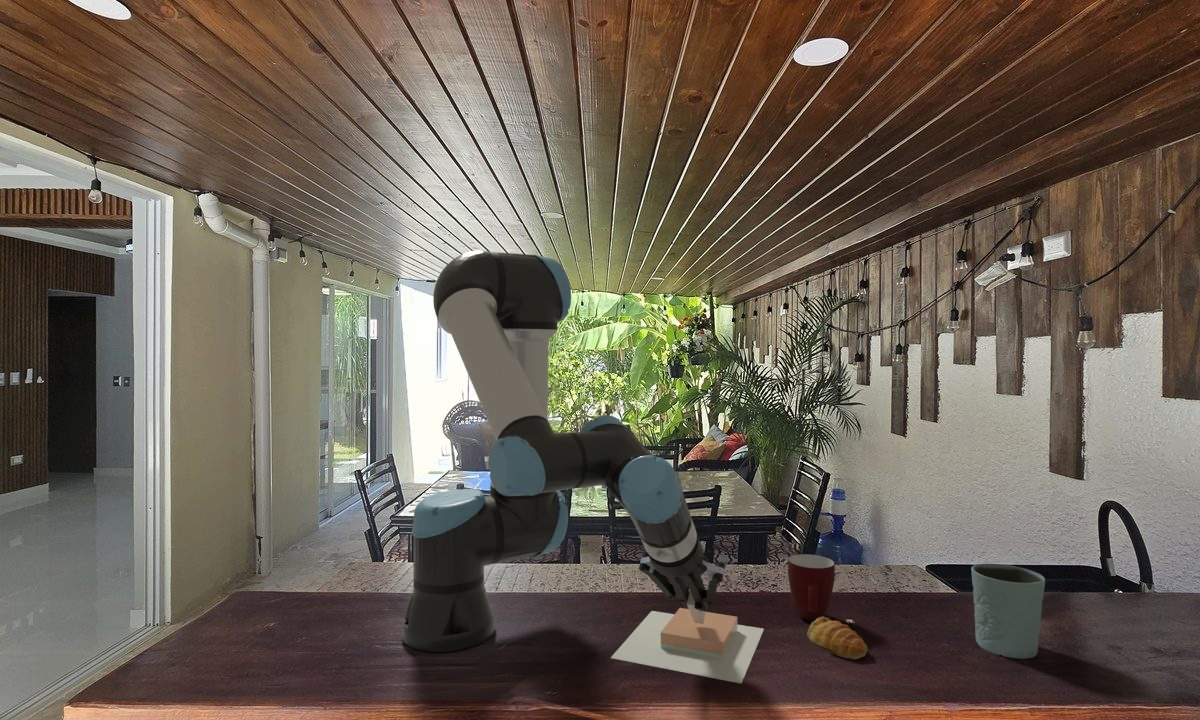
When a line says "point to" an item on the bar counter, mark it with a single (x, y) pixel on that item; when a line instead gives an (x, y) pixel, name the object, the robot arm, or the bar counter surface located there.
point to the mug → (811, 584)
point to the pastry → (837, 638)
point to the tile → (699, 634)
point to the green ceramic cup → (1007, 609)
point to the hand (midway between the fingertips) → (700, 615)
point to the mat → (648, 651)
